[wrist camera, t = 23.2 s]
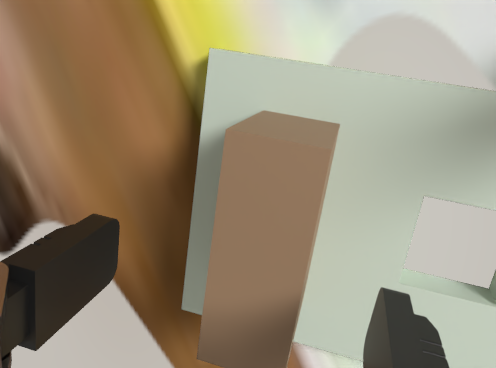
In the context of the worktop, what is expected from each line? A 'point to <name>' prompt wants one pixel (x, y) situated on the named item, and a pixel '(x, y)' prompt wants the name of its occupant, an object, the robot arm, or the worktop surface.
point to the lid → (329, 207)
